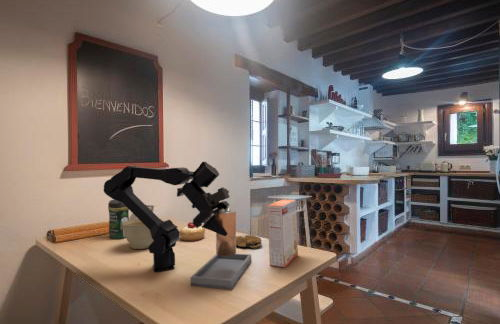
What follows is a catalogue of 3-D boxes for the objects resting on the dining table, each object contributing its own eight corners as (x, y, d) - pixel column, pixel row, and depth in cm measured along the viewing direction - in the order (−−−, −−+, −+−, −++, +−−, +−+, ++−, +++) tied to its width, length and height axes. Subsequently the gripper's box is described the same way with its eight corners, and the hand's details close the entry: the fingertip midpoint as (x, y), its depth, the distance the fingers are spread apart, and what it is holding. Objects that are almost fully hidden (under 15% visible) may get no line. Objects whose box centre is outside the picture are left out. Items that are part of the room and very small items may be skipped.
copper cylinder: (219, 257, 86) (219, 211, 86) (213, 250, 92) (213, 207, 91) (238, 254, 88) (239, 209, 88) (232, 248, 94) (232, 206, 94)
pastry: (179, 237, 136) (178, 219, 136) (204, 234, 139) (203, 216, 139) (180, 243, 124) (179, 223, 124) (206, 240, 127) (205, 220, 128)
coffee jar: (106, 237, 136) (105, 199, 136) (120, 234, 143) (119, 197, 143) (118, 240, 131) (117, 201, 131) (132, 236, 138) (131, 198, 138)
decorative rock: (269, 246, 119) (242, 241, 128) (269, 236, 119) (242, 232, 128) (253, 251, 110) (225, 246, 119) (253, 241, 110) (225, 237, 119)
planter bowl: (164, 248, 117) (163, 222, 117) (122, 254, 111) (121, 227, 111) (161, 239, 132) (160, 216, 132) (124, 243, 126) (123, 219, 126)
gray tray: (190, 285, 81) (190, 277, 81) (218, 259, 102) (217, 252, 102) (232, 289, 78) (231, 280, 78) (251, 261, 99) (251, 254, 99)
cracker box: (283, 253, 107) (282, 198, 107) (298, 255, 104) (297, 199, 104) (268, 265, 95) (266, 204, 95) (284, 268, 92) (283, 205, 92)
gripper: (202, 182, 82) (238, 222, 79) (224, 178, 100) (254, 210, 97) (178, 208, 84) (212, 247, 81) (203, 199, 102) (232, 231, 99)
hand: (230, 232), depth 90 cm, fingers closed on copper cylinder, 6 cm apart
